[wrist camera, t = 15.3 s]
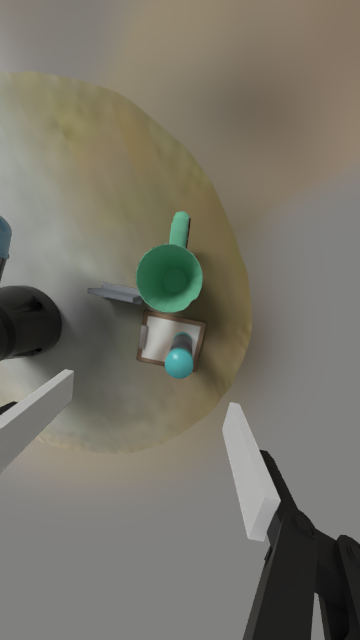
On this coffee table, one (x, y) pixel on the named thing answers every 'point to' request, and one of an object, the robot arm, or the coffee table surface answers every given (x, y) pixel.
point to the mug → (170, 271)
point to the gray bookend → (118, 293)
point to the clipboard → (167, 336)
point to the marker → (180, 356)
